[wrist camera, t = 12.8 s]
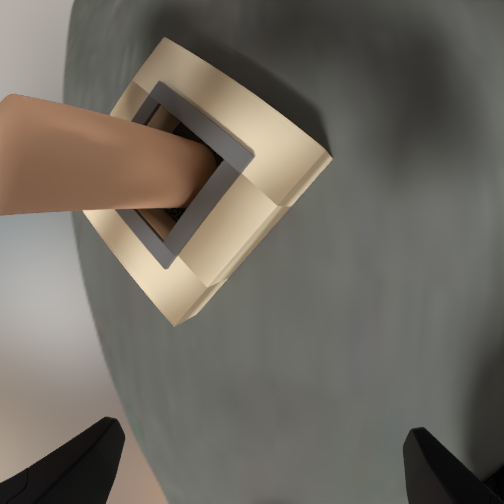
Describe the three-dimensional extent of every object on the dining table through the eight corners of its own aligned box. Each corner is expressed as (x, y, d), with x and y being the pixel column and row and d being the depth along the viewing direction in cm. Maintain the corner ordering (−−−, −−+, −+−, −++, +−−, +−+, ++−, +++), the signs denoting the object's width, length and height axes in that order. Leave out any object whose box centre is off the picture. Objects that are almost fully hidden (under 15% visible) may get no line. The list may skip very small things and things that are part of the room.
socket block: (332, 159, 15) (324, 148, 13) (196, 314, 19) (171, 328, 17) (186, 51, 18) (161, 35, 15) (94, 191, 22) (65, 190, 19)
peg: (221, 141, 17) (35, 81, 6) (213, 211, 18) (17, 221, 7) (165, 142, 19) (-11, 106, 8) (158, 204, 19) (-23, 211, 8)
